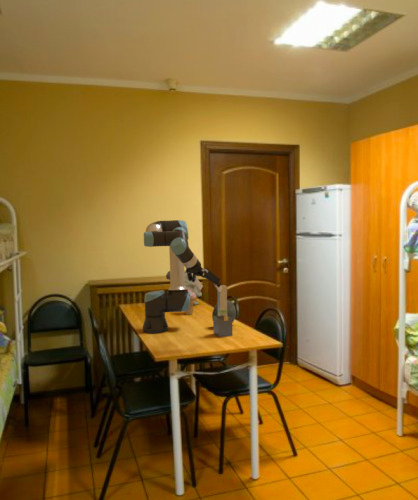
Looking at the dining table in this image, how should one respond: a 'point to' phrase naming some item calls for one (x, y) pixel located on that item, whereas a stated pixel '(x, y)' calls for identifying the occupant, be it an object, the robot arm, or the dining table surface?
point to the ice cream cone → (191, 303)
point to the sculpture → (189, 286)
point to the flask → (230, 310)
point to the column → (222, 302)
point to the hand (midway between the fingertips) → (211, 289)
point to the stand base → (222, 326)
